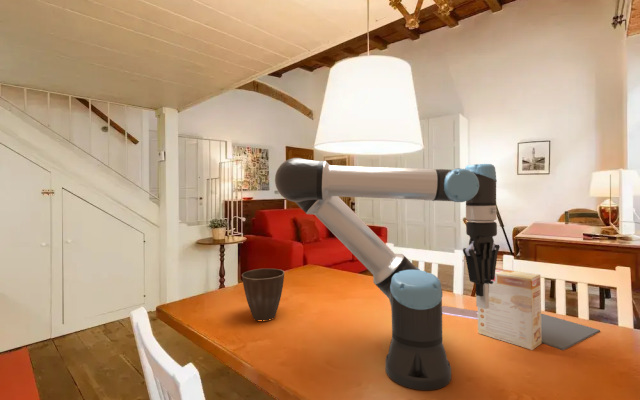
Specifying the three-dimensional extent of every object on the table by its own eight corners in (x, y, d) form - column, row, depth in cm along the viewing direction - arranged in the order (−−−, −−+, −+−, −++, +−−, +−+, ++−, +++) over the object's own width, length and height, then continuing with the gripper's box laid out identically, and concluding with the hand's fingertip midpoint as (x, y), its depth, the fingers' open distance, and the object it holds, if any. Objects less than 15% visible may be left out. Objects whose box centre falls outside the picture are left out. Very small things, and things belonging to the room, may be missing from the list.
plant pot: (294, 315, 119) (293, 271, 118) (265, 329, 106) (263, 280, 106) (264, 308, 127) (262, 266, 127) (234, 320, 115) (232, 275, 114)
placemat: (563, 350, 88) (563, 348, 88) (486, 323, 107) (486, 321, 107) (599, 331, 99) (599, 329, 99) (524, 310, 118) (524, 308, 118)
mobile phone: (442, 304, 123) (486, 311, 116) (442, 307, 124) (486, 314, 116) (437, 311, 117) (484, 318, 109) (437, 314, 117) (484, 321, 109)
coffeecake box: (542, 343, 92) (541, 274, 92) (532, 351, 88) (531, 278, 88) (487, 327, 104) (487, 265, 104) (477, 333, 100) (476, 269, 99)
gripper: (478, 223, 83) (480, 316, 83) (508, 220, 89) (510, 306, 90) (453, 221, 89) (455, 307, 90) (483, 218, 96) (484, 299, 96)
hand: (482, 306), depth 90 cm, fingers closed
